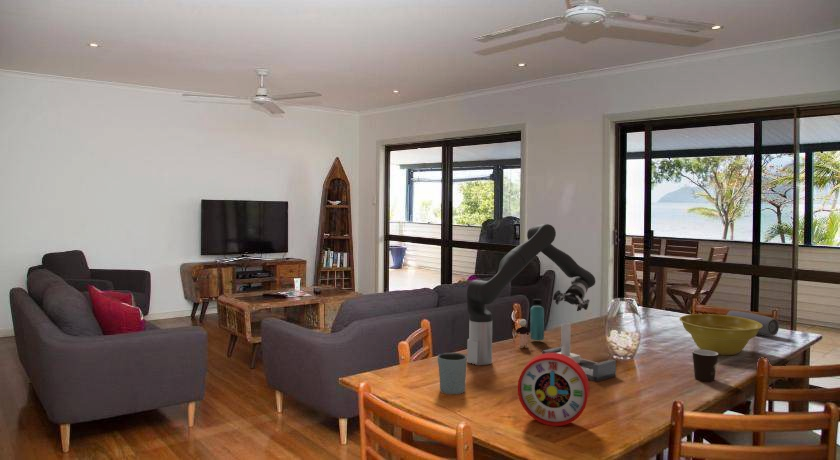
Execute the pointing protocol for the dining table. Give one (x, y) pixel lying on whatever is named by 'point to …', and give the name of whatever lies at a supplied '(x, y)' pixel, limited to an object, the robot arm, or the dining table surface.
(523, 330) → the grandmother figurine
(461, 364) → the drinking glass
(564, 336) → the carriage
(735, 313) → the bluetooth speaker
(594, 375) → the gray tray
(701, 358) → the coffee mug
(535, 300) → the beverage bottle
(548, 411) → the toy clock
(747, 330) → the planter bowl
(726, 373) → the dining table surface
